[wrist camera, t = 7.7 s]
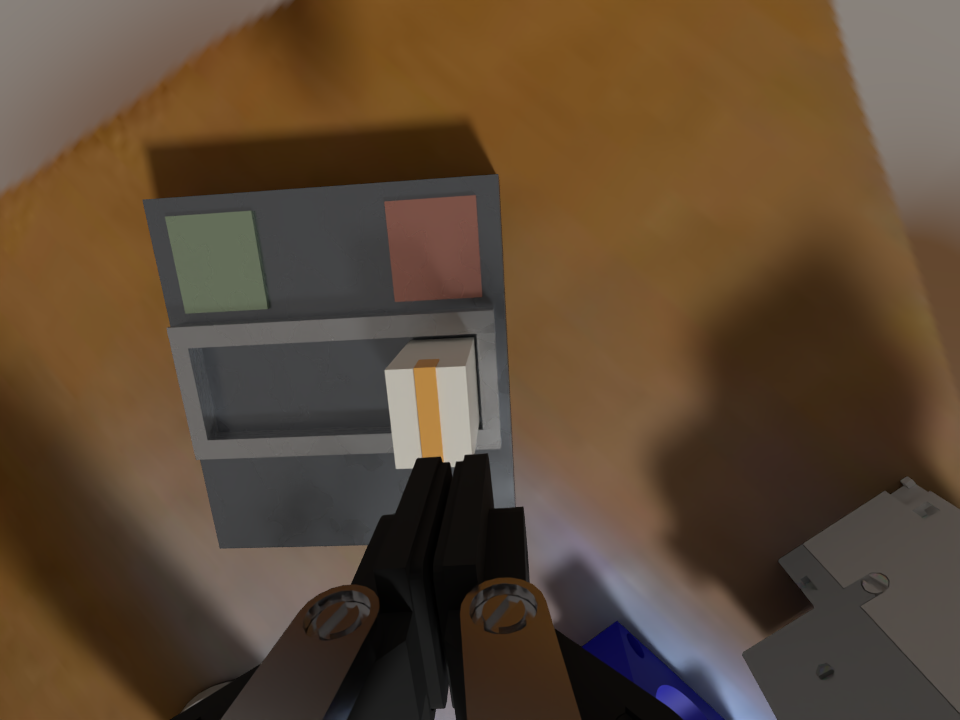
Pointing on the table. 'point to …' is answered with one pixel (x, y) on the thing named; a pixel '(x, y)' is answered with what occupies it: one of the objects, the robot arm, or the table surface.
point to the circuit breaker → (872, 617)
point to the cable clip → (648, 672)
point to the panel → (325, 342)
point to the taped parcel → (433, 400)
